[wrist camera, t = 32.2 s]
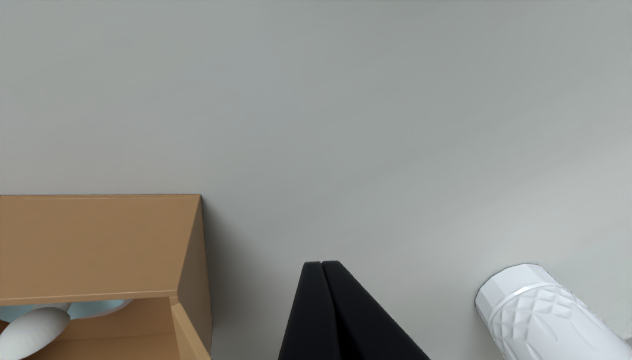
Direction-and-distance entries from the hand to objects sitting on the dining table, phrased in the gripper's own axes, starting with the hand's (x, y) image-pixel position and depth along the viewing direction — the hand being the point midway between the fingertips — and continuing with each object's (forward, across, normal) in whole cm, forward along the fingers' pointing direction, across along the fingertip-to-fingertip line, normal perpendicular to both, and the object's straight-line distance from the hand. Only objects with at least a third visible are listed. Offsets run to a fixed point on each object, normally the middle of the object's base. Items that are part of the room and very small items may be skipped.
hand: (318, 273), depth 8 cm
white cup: (+13, -21, +16) cm, 29 cm away
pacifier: (+12, +12, +12) cm, 21 cm away
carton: (+12, +11, +12) cm, 21 cm away
